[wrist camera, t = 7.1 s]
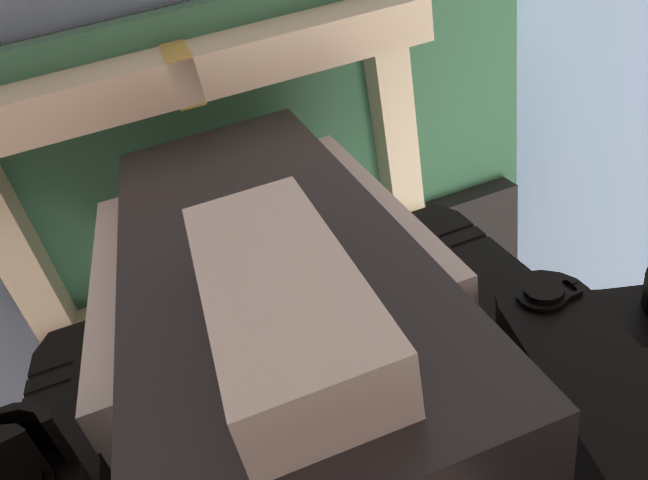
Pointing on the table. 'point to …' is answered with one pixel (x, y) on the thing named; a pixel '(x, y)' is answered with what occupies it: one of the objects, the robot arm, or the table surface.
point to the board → (295, 94)
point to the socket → (196, 90)
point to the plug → (305, 330)
